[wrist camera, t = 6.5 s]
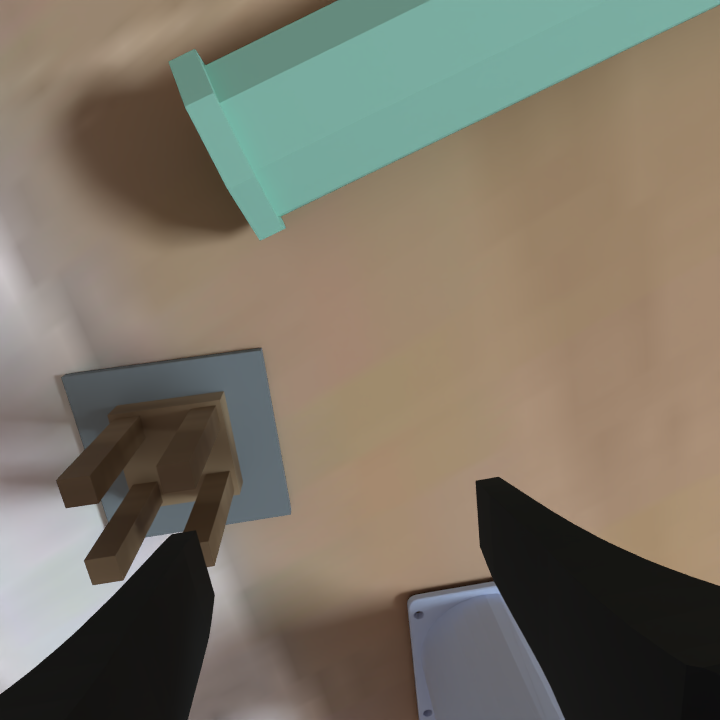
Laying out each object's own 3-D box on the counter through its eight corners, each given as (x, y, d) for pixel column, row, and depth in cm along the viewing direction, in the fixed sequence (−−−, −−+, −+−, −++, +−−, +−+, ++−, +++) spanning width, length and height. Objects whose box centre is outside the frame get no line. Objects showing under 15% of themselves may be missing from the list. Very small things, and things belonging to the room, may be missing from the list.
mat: (291, 509, 22) (290, 514, 22) (118, 536, 22) (114, 542, 22) (261, 347, 20) (260, 350, 20) (65, 374, 19) (61, 377, 19)
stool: (242, 481, 21) (221, 569, 16) (143, 496, 21) (87, 591, 16) (224, 391, 20) (194, 454, 15) (116, 405, 20) (47, 475, 14)
